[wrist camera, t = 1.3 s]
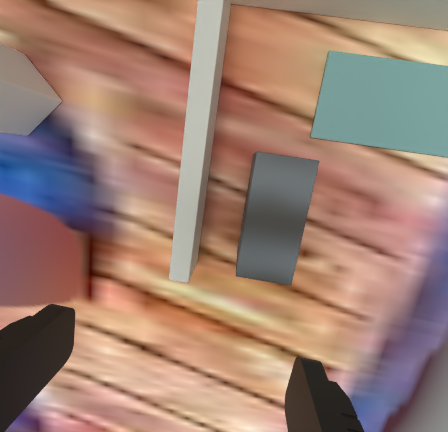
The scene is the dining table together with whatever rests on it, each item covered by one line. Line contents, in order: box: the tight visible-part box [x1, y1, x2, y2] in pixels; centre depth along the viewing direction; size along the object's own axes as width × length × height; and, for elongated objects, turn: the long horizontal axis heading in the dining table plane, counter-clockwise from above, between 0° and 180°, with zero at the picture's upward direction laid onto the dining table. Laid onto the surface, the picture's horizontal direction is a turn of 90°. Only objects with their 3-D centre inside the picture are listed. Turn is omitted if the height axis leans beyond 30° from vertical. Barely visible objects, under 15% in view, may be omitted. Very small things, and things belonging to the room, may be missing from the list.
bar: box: [236, 152, 319, 286], centre depth 24 cm, size 11×5×7 cm, turn 172°
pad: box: [310, 51, 448, 157], centre depth 24 cm, size 8×14×1 cm, turn 82°
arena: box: [169, 0, 448, 283], centre depth 23 cm, size 29×30×5 cm
